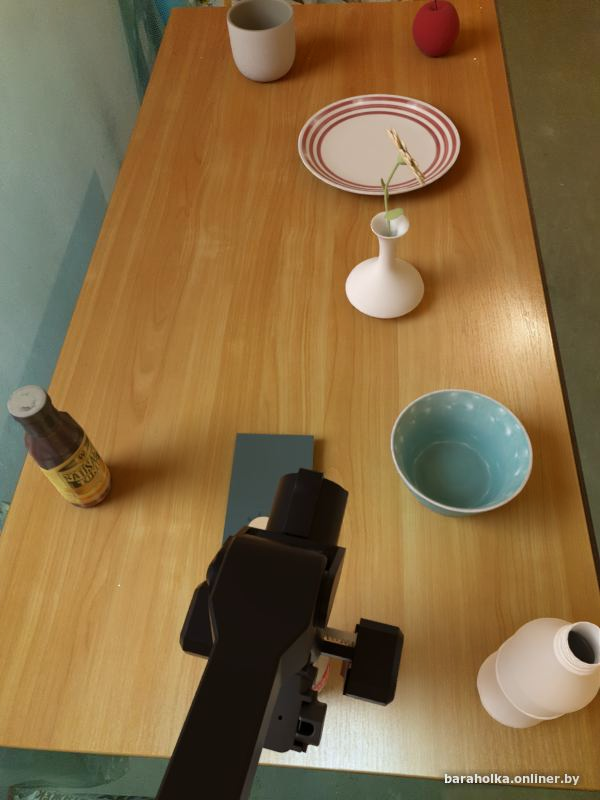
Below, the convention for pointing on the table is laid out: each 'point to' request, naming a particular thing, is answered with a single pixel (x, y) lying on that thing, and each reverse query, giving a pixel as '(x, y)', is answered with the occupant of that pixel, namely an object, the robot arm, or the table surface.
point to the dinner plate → (377, 143)
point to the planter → (262, 38)
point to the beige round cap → (259, 523)
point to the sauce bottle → (60, 447)
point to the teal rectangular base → (262, 474)
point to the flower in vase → (388, 258)
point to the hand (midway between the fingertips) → (297, 657)
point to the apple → (436, 27)
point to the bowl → (461, 452)
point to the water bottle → (541, 672)
